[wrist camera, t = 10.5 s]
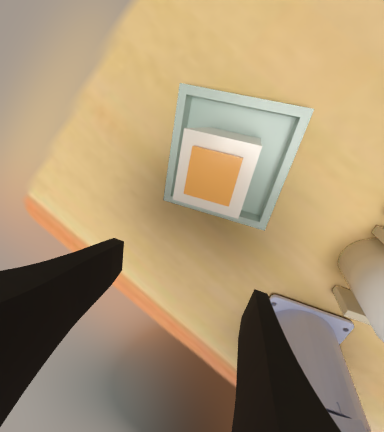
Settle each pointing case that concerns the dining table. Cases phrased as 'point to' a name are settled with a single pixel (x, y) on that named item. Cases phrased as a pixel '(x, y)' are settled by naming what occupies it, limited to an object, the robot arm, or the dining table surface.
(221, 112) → the tray
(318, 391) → the robot arm
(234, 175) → the block
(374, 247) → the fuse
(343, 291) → the block
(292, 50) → the dining table surface
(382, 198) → the dining table surface
